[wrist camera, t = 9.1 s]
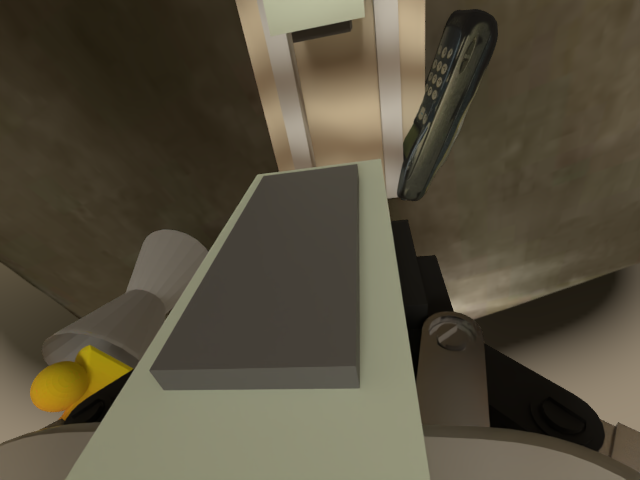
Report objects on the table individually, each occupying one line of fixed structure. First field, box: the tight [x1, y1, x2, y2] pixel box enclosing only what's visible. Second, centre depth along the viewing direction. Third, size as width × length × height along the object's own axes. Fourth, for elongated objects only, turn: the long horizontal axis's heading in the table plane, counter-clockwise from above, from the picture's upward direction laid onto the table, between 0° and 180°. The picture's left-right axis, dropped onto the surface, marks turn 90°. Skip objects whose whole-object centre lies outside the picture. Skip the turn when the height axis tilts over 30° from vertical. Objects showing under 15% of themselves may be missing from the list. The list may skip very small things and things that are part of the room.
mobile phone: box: [397, 9, 498, 201], centre depth 26 cm, size 5×3×15 cm
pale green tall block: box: [65, 159, 430, 480], centre depth 9 cm, size 4×6×10 cm
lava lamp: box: [30, 229, 208, 420], centre depth 25 cm, size 9×9×35 cm
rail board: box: [236, 0, 425, 198], centre depth 22 cm, size 20×13×12 cm, turn 10°
